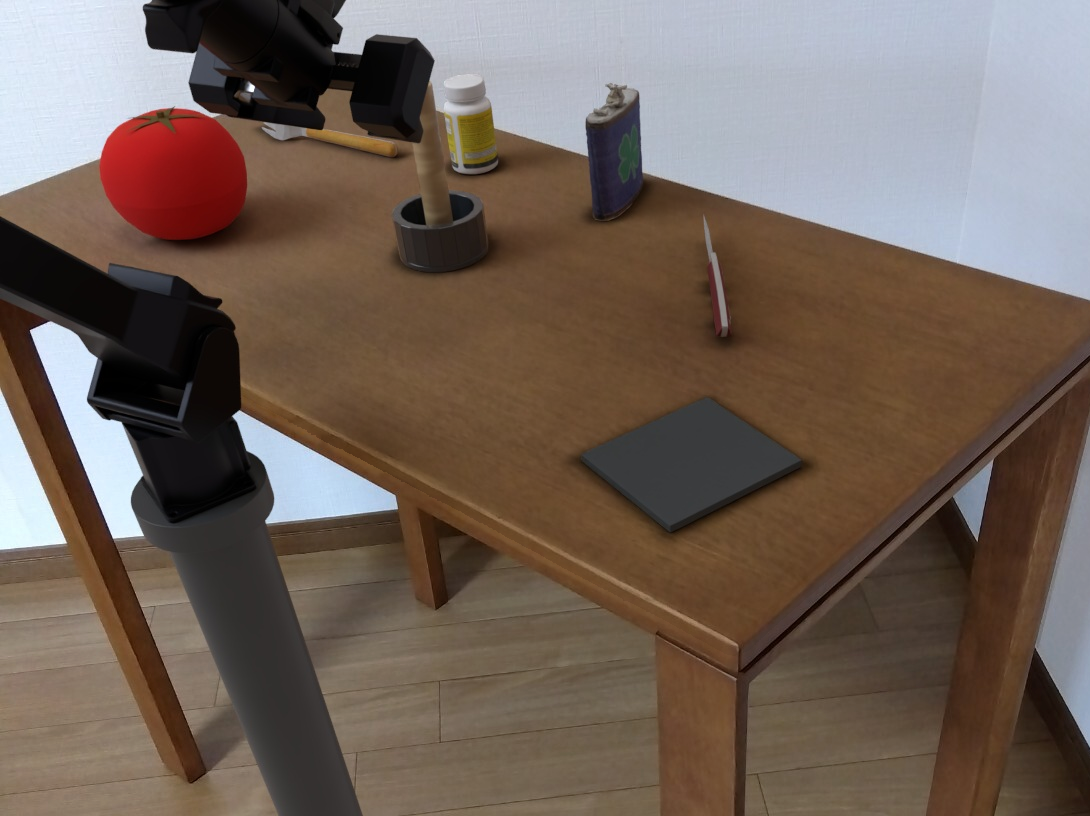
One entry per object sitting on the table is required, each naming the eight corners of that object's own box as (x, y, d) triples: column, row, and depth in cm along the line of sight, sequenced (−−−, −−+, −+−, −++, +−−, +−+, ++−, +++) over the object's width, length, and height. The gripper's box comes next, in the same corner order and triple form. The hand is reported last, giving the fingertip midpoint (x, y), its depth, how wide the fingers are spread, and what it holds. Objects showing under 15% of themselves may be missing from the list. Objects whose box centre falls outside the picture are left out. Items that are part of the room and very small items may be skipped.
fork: (402, 137, 119) (260, 107, 127) (391, 139, 118) (248, 108, 126) (402, 162, 121) (262, 131, 129) (391, 164, 119) (250, 133, 127)
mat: (670, 533, 72) (670, 525, 71) (581, 460, 78) (580, 453, 77) (801, 467, 76) (802, 459, 75) (707, 403, 82) (707, 396, 82)
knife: (733, 348, 88) (734, 312, 85) (716, 349, 88) (717, 314, 86) (709, 232, 102) (709, 199, 100) (695, 233, 103) (695, 200, 100)
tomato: (209, 264, 104) (171, 142, 96) (98, 246, 108) (53, 128, 100) (285, 210, 111) (255, 94, 104) (178, 196, 116) (142, 83, 108)
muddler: (438, 255, 101) (411, 91, 92) (425, 246, 103) (397, 84, 93) (461, 246, 102) (437, 84, 93) (448, 238, 104) (423, 77, 94)
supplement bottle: (507, 161, 117) (497, 76, 111) (480, 178, 114) (468, 91, 109) (470, 154, 119) (459, 69, 114) (442, 170, 116) (429, 85, 111)
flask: (623, 180, 112) (618, 65, 105) (651, 183, 111) (648, 67, 104) (586, 219, 106) (578, 101, 99) (616, 223, 105) (610, 103, 98)
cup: (426, 281, 99) (418, 237, 96) (384, 250, 104) (376, 207, 101) (505, 253, 102) (499, 210, 99) (460, 224, 107) (454, 182, 104)
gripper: (393, -95, 71) (501, 39, 86) (164, -105, 78) (300, 20, 92) (347, 80, 71) (462, 183, 86) (123, 54, 78) (265, 155, 92)
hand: (370, 130), depth 89 cm, fingers open, 9 cm apart
